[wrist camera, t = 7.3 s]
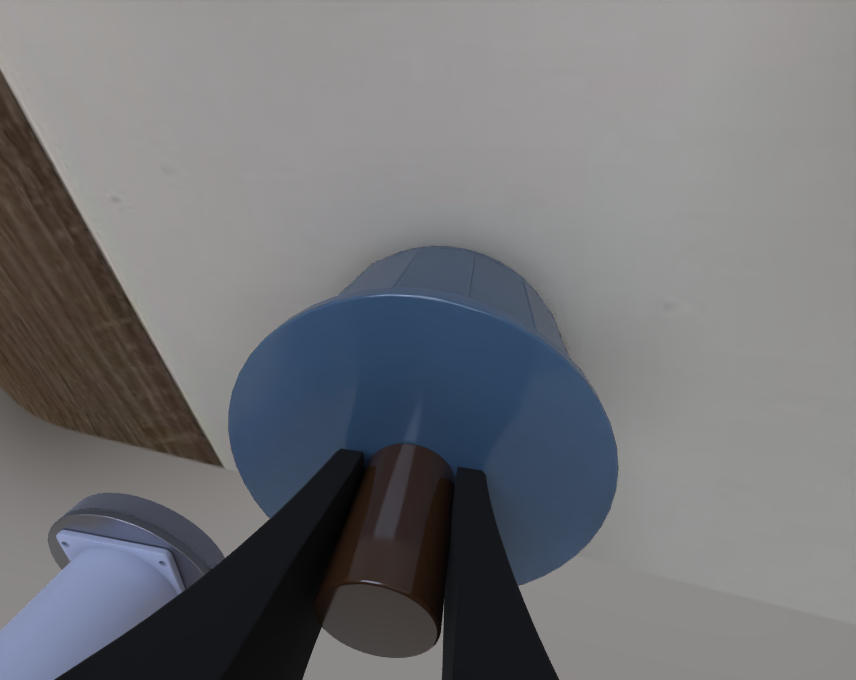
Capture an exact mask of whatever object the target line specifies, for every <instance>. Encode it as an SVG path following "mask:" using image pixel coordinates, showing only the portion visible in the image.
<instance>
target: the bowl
mask: <svg viewBox="0 0 856 680" xmlns="http://www.w3.org/2000/svg"><path fill="white" fill-rule="evenodd" d="M390 287H402V288H424V289H430V290H436V291H442V292H447V293H453V294H457V295H461V296H464V297H467V298H471V299H474V300H477V301H480V302H484V303H487V304H489V305H491V306H493V307H496V308H498V309H500V310H502V311H504V312H507V313H509V314H511V315H513V316H515V317H517V318H519V319H520V320H522V321H523V322H525V323H527V324H528V325H530V326H532V327H533V328H535V329H537V330H538V331H540V332H541V333H542V334H544V335H545V336H546V337H547V338H548V339H550V340H551V341H552V342H553V343H555V344H556V345H557V346H558V347H560V348H561V349H562V350H563V351H564V352H565V353H566V354H567V351H566V348H565V346H564V343H563V340H562V338H561V335H560V332H559V330H558V327H557V325H556V322H555V319H554V317H553V315H552V313H551V312H550V311H549V310H548V308H547V307H546V305H545V304H544V302H543V301H542V299H541V298H540V296H539V295H538V293H537V292H536V291H535V290H534V289H533V288H532V287H531V286H530V285H529V283H528V282H527V281H526V280H525V279H524V278H522V277H521V276H520V275H518V274H517V273H516V272H515V271H514V270H512V269H510V268H509V267H507V266H506V265H504V264H502V263H501V262H499V261H497V260H495V259H493V258H490V257H488V256H486V255H484V254H480V253H477V252H474V251H471V250H467V249H461V248H455V247H444V246H430V247H420V248H414V249H410V250H405V251H401V252H398V253H396V254H393V255H391V256H388V257H386V258H384V259H382V260H379V261H376V262H375V263H373V264H371V265H370V266H369V267H368V268H367V269H366V270H365V271H364V272H363V273H362V274H360V275H359V276H358V277H357V278H356V279H355V280H354V281H353V282H352V283H351V284H349V285H348V286H347V287H346V288H345V289H344V290H343V291H342V292H341V293H340V294H339V295H343V294H347V293H352V292H356V291H361V290H366V289H378V288H390ZM567 355H568V354H567Z"/></svg>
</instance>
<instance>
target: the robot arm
mask: <svg viewBox="0 0 856 680" xmlns="http://www.w3.org/2000/svg"><path fill="white" fill-rule="evenodd" d="M363 473H364V452H361V451H354V450H348V449H342V448H341V449H339V450H338V451H336V452H335V453H334V455H333V456H332V457H331V458H330V459H329V460H328V461H327V462H326V463H325V464H324V465H323V466H322V468H321V469H320V470H319V471H318V472H317V473H316V474H315V475H314V476H313V477H312V478H311V479H310V480H309V481H308V482H307V483H306V484H305V485H304V486H303V487H302V488H301V489H300V490H299V491H298V492H297V493H296V494H295V495H294V496H293V497H292V498H291V499H290V500H289V501H288V502H287V503H286V504H285V505H284V506H283V507H282V508H281V509H280V510H279V511H278V512H277V513H276V514H275V515H274V516H273V517H271V518H270V519H269V520H268V521H267V522H266V523H265V524H264V525H263V526H262V527H260V528H259V529H258V530H257V531H256V532H255V533H254V534H253V535H252V536H250V537H249V538H248V539H247V540H246V541H245V542H244V543H242V545H240V546H239V547H238V548H237V549H236V550H234V551H233V552H232V553H231V554H230V555H229V556H227V557H226V558H225V559H224V560H222V561H221V562H220V563H219V564H218V565H216V566H215V567H214V568H213V569H211V570H210V571H209V572H208V573H206V574H205V575H204V576H202V577H201V578H200V579H199V580H197V581H196V582H195V583H194V584H192V585H191V586H190V587H188V588H187V589H185V587H184V584H183V581H182V579H181V576H180V573H179V571H178V568H177V566H176V563H175V560H174V558H173V555H172V553H171V552H170V551H169V550H167V549H164V548H159V547H154V546H149V545H144V544H138V543H133V542H128V541H123V540H118V539H112V538H107V537H102V536H97V535H92V534H87V533H81V532H76V531H71V530H61V531H60V532H59V533H58V534H57V535H56V538H57V540H58V542H59V543H60V545H61V547H62V549H63V550H64V552H65V554H66V555H67V557H68V559H69V561H70V563H69V564H68V565H67V566H66V567H65V568H64V569H63V570H62V571H61V572H60V573H59V574H58V575H56V576H55V577H54V579H52V580H51V582H49V583H48V585H46V586H45V587H44V588H43V589H42V590H41V591H40V592H39V593H38V594H37V595H36V596H35V597H34V598H33V599H32V600H31V601H30V602H29V603H28V604H27V605H26V606H25V607H24V608H23V609H22V610H21V611H20V612H19V613H18V614H17V615H16V616H15V617H14V618H13V619H12V620H11V621H10V622H9V623H8V624H7V625H6V626H4V627H3V629H1V630H0V680H302V679H303V676H304V673H305V669H306V667H307V664H308V661H309V659H310V656H311V653H312V650H313V648H314V645H315V642H316V640H317V638H318V635H319V633H320V630H321V628H322V626H321V625H320V624H319V622H318V620H317V619H316V616H315V613H314V598H315V595H316V593H317V590H318V588H319V585H320V583H321V580H322V578H323V575H324V573H325V570H326V567H327V565H328V562H329V560H330V557H331V555H332V552H333V550H334V547H335V545H336V542H337V540H338V537H339V534H340V532H341V529H342V527H343V524H344V522H345V519H346V517H347V514H348V512H349V509H350V506H351V504H352V501H353V499H354V496H355V494H356V491H357V489H358V486H359V484H360V481H361V479H362V476H363ZM443 634H444V635H443V668H442V680H559V679H558V676H557V674H556V672H555V670H554V668H553V666H552V664H551V662H550V660H549V657H548V655H547V653H546V651H545V649H544V647H543V644H542V642H541V640H540V638H539V636H538V633H537V631H536V629H535V627H534V624H533V622H532V620H531V617H530V615H529V612H528V610H527V608H526V605H525V603H524V601H523V598H522V595H521V592H520V590H519V587H518V585H517V582H516V580H515V577H514V574H513V572H512V569H511V566H510V563H509V560H508V557H507V554H506V551H505V549H504V546H503V543H502V540H501V537H500V533H499V530H498V527H497V523H496V520H495V516H494V513H493V509H492V505H491V501H490V496H489V492H488V486H487V480H486V474H485V473H484V472H483V471H482V470H476V469H470V468H464V467H457V474H456V482H455V490H454V499H453V509H452V518H451V536H450V548H449V557H448V567H447V577H446V586H445V596H444V631H443Z"/></svg>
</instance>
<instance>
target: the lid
mask: <svg viewBox="0 0 856 680" xmlns="http://www.w3.org/2000/svg"><path fill="white" fill-rule="evenodd" d="M228 431H229V438H230V445H231V450H232V453H233V456H234V460H235V463H236V466H237V468H238V471H239V473H240V475H241V477H242V479H243V481H244V484H245V485H246V487H247V489H248V490H249V492H250V493H251V495H252V497H253V498H254V500H255V501H256V502H257V503H258V505H259V506H260V508H261V509H262V510H263V511H264V513H265V514H266V515H267V516H268V517H269V518H271V517H273V516H274V515H275V514H276V513H277V512H278V511H279V510H280V509H281V508H282V507H283V506H284V505H285V504H286V503H287V502H288V501H289V500H290V499H291V498H292V497H293V496H294V495H295V494H296V493H297V492H298V491H299V490H300V489H301V488H302V487H303V486H304V485H305V484H306V483H307V482H308V481H309V480H310V479H311V478H312V477H313V476H314V475H315V474H316V473H317V472H318V471H319V470H320V469H321V468H322V466H323V465H324V464H325V463H326V462H327V461H328V460H329V459H330V458H331V457H332V456H333V455H334V453H335V452H336V451H338V450H339V449H341V448H342V449H348V450H354V451H361V452H364V473H363V476H362V479H361V481H360V484H359V486H358V489H357V491H356V494H355V496H354V499H353V501H352V504H351V506H350V509H349V512H348V514H347V517H346V519H345V522H344V524H343V527H342V529H341V532H340V534H339V537H338V540H337V542H336V545H335V547H334V550H333V552H332V555H331V557H330V560H329V562H328V565H327V567H326V570H325V573H324V575H323V578H322V580H321V583H320V585H319V588H318V590H317V593H316V595H315V598H314V613H315V616H316V619H317V620H318V622H319V624H320V625H321V626H322V627H323V629H324V630H326V631H327V632H328V633H329V634H330V635H331V636H332V637H334V638H335V639H337V640H338V641H340V642H341V643H343V644H345V645H347V646H349V647H351V648H353V649H356V650H358V651H361V652H364V653H368V654H372V655H375V656H381V657H389V658H405V657H412V656H417V655H420V654H423V653H425V652H427V651H429V650H430V649H431V648H432V647H433V646H434V645H435V644H436V643H437V641H438V639H439V637H440V633H441V625H442V615H443V605H444V596H445V586H446V577H447V567H448V557H449V548H450V536H451V518H452V509H453V499H454V490H455V482H456V474H457V467H464V468H470V469H476V470H482V471H483V472H484V473H485V474H486V480H487V486H488V492H489V496H490V501H491V505H492V509H493V513H494V516H495V520H496V523H497V527H498V530H499V533H500V537H501V540H502V543H503V546H504V549H505V551H506V554H507V557H508V560H509V563H510V566H511V569H512V572H513V574H514V577H515V580H516V582H517V585H518V586H519V585H523V584H526V583H528V582H531V581H533V580H536V579H538V578H540V577H543V576H545V575H547V574H548V573H550V572H552V571H554V570H556V569H558V568H559V567H561V566H562V565H563V564H565V563H566V562H568V561H569V560H570V559H572V558H573V557H575V556H576V555H577V554H578V553H579V552H580V551H581V550H582V549H583V548H584V547H585V546H586V545H587V544H588V543H589V542H590V541H591V540H592V538H593V537H594V536H595V534H596V533H597V532H598V530H599V529H600V528H601V526H602V524H603V522H604V520H605V518H606V516H607V515H608V513H609V511H610V508H611V505H612V502H613V498H614V495H615V492H616V487H617V477H618V456H617V446H616V442H615V438H614V434H613V431H612V427H611V423H610V421H609V419H608V417H607V414H606V412H605V410H604V408H603V406H602V404H601V401H600V399H599V397H598V395H597V393H596V391H595V390H594V388H593V387H592V385H591V384H590V382H589V381H588V379H587V378H586V376H585V375H584V373H583V372H582V370H581V369H580V368H579V367H578V366H577V365H576V364H575V363H574V362H573V361H572V360H571V358H570V357H569V356H568V355H567V354H566V353H565V352H564V351H563V350H562V349H561V348H560V347H558V346H557V345H556V344H555V343H553V342H552V341H551V340H550V339H548V338H547V337H546V336H545V335H544V334H542V333H541V332H540V331H538V330H537V329H535V328H533V327H532V326H530V325H528V324H527V323H525V322H523V321H522V320H520V319H519V318H517V317H515V316H513V315H511V314H509V313H507V312H504V311H502V310H500V309H498V308H496V307H493V306H491V305H489V304H487V303H484V302H480V301H477V300H474V299H471V298H467V297H464V296H461V295H457V294H453V293H447V292H442V291H436V290H430V289H424V288H402V287H390V288H378V289H366V290H361V291H356V292H352V293H347V294H343V295H338V296H335V297H332V298H330V299H327V300H324V301H322V302H319V303H316V304H314V305H312V306H310V307H308V308H306V309H305V310H303V311H301V312H299V313H297V314H296V315H294V316H292V317H291V318H289V319H288V320H287V321H286V322H284V323H283V324H282V325H281V326H279V327H278V328H277V329H275V330H274V331H273V332H272V333H271V334H269V335H268V336H267V337H266V338H265V339H264V340H263V341H262V342H261V343H260V344H259V345H258V347H257V348H256V349H255V350H254V351H253V352H252V353H251V355H250V356H249V358H248V359H247V361H246V363H245V364H244V366H243V368H242V369H241V371H240V373H239V375H238V378H237V380H236V383H235V386H234V388H233V391H232V395H231V401H230V406H229V417H228Z"/></svg>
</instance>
